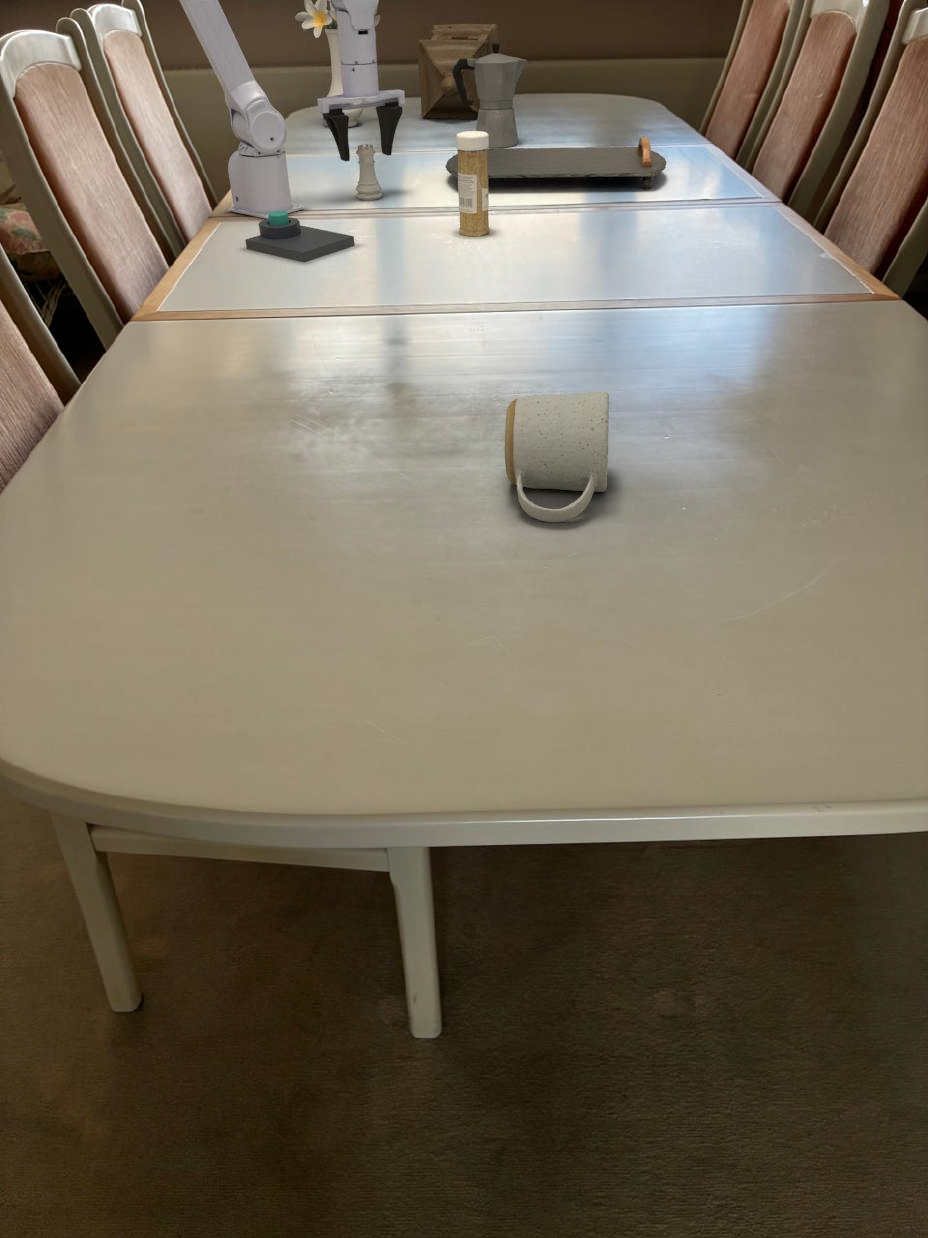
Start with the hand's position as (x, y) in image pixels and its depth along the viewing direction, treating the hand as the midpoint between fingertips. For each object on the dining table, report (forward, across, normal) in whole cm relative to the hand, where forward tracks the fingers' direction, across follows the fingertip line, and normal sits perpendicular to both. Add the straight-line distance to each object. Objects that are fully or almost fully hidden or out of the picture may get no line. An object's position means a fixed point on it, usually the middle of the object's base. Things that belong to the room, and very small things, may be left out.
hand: (366, 157), depth 158 cm
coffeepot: (+6, +41, +27) cm, 50 cm away
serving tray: (+6, +34, -7) cm, 35 cm away
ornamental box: (+6, +56, +65) cm, 86 cm away
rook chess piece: (+6, 0, 0) cm, 6 cm away
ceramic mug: (+6, -33, -102) cm, 107 cm away
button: (+4, -23, -18) cm, 30 cm away
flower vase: (+6, +27, +68) cm, 73 cm away
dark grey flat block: (+6, -22, -22) cm, 32 cm away
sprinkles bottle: (+6, +3, -30) cm, 31 cm away
